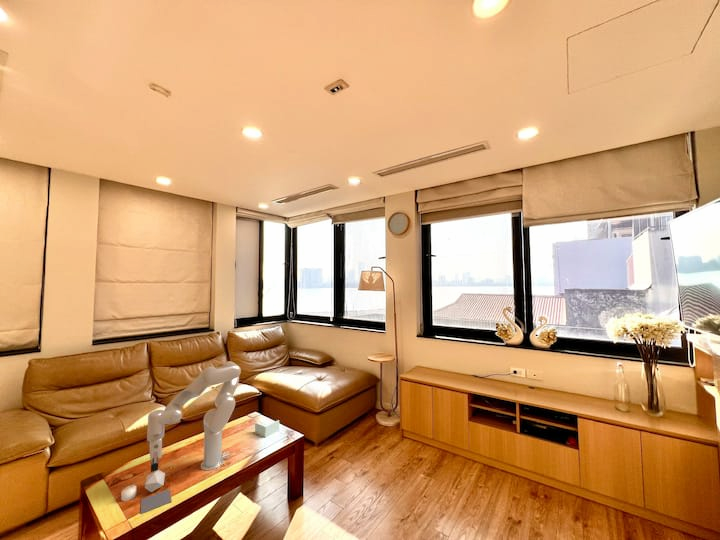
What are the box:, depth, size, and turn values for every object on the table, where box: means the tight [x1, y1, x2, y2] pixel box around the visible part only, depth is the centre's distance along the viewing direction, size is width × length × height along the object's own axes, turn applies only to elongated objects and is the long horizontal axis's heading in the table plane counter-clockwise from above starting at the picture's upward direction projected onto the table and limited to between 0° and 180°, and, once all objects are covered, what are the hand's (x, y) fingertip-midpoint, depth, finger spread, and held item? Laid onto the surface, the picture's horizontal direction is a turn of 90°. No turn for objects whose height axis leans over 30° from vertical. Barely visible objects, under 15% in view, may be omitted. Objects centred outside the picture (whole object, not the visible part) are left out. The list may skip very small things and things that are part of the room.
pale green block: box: [254, 419, 280, 439], centre depth 206 cm, size 12×12×8 cm
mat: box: [140, 488, 172, 515], centre depth 141 cm, size 12×11×1 cm
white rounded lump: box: [120, 484, 137, 502], centre depth 144 cm, size 6×6×4 cm
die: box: [144, 469, 166, 493], centre depth 149 cm, size 8×9×10 cm
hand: (154, 470), depth 152 cm, fingers closed
